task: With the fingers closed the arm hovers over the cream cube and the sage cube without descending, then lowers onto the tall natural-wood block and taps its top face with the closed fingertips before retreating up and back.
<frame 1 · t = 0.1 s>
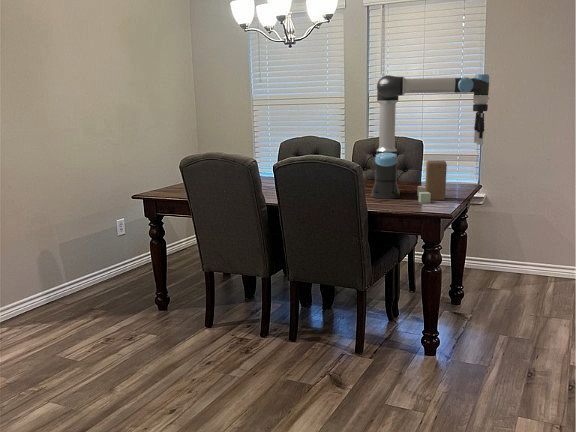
hand: (478, 143, 310), 28 cm above the table, fingers open, 13 cm apart
wooden block: (434, 199, 303), on the table
sage cube: (424, 202, 294), on the table
cream cube: (422, 195, 314), on the table
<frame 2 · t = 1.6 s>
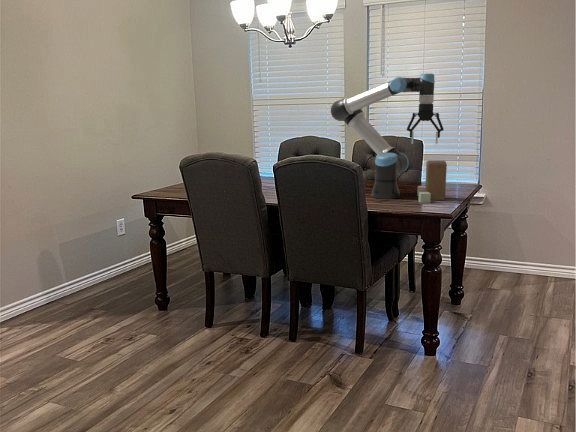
hand: (424, 144, 308), 28 cm above the table, fingers open, 12 cm apart
nothing on the table moved.
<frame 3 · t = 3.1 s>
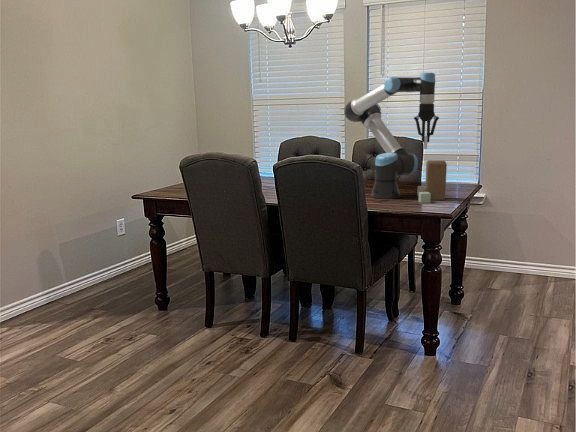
hand: (425, 148, 301), 26 cm above the table, fingers closed
nothing on the table moved.
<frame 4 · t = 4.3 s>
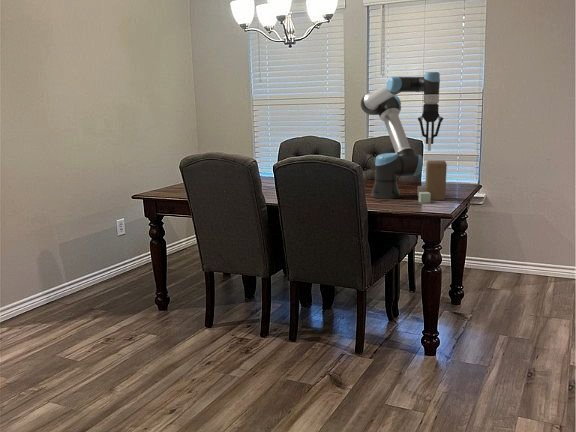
hand: (429, 150, 291), 26 cm above the table, fingers closed
nothing on the table moved.
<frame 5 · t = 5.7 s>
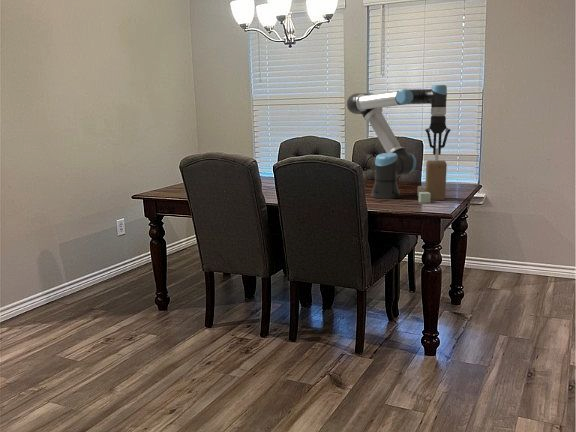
hand: (436, 161, 299), 20 cm above the table, fingers closed
wooden block: (434, 199, 303), on the table, touching gripper
everything else where it was.
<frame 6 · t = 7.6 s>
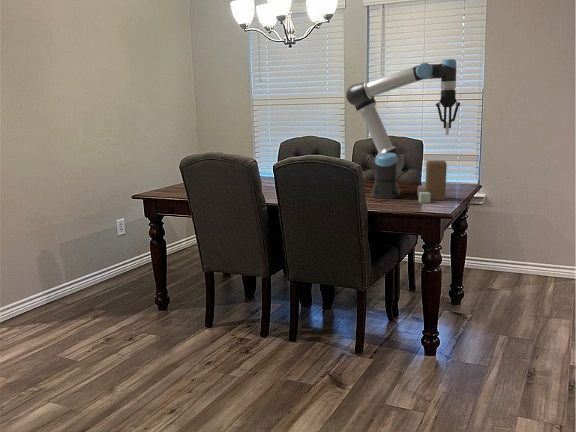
hand: (447, 134, 305), 33 cm above the table, fingers closed
wooden block: (434, 199, 303), on the table
everything else where it was.
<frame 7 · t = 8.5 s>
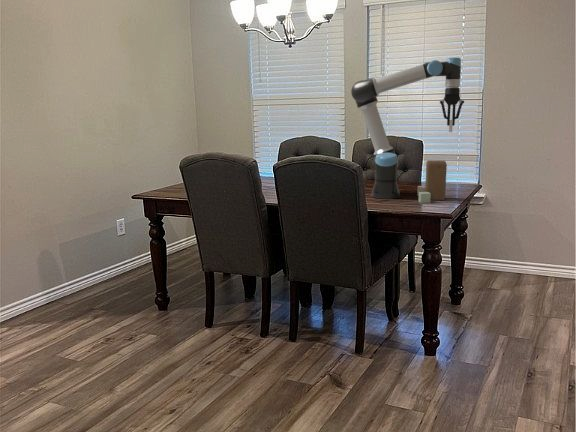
hand: (450, 131, 310), 34 cm above the table, fingers closed
nothing on the table moved.
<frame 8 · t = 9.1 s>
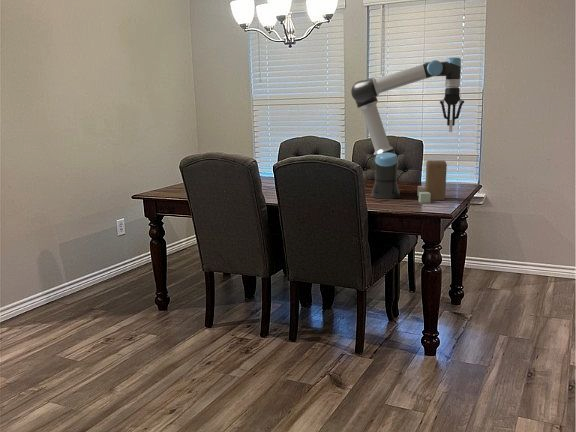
hand: (450, 131, 310), 34 cm above the table, fingers closed
nothing on the table moved.
at the end: wooden block moved 0.2 cm from its start; sage cube moved 0.1 cm from its start; cream cube moved 0.1 cm from its start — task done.
